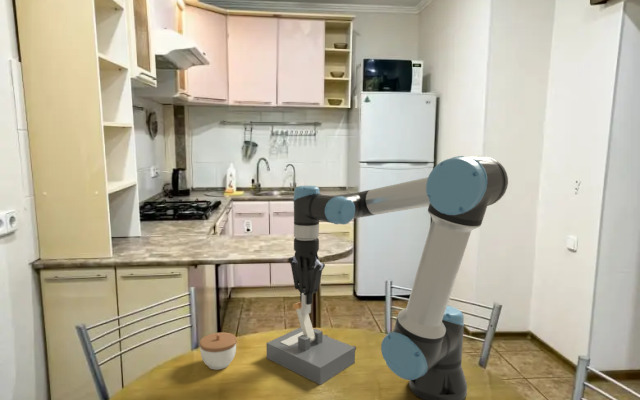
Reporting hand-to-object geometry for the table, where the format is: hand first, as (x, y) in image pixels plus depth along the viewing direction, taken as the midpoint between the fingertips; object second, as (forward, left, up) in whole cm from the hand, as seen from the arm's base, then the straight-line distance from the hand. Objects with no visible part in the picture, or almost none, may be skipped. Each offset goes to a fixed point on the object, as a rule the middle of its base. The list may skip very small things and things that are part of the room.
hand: (306, 313), depth 129 cm
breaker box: (-2, 0, -15) cm, 15 cm away
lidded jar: (+17, +20, -15) cm, 30 cm away
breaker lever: (-2, 0, -8) cm, 8 cm away
